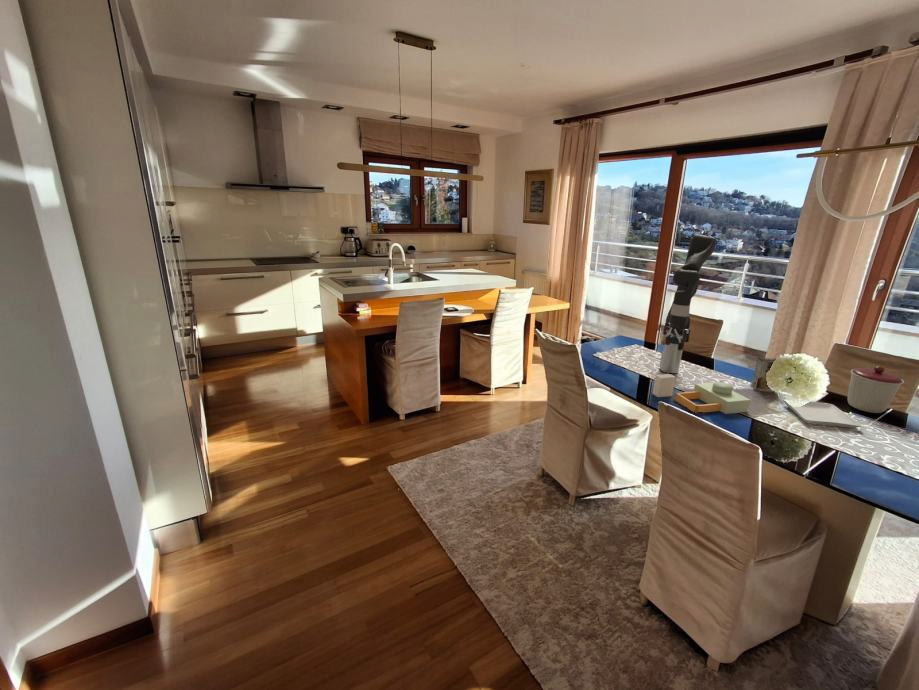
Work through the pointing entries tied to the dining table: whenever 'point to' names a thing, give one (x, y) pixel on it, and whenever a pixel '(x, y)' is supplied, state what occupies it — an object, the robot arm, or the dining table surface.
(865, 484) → the dining table surface
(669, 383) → the white block
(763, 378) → the coffee box
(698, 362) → the dining table surface
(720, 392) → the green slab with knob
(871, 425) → the dining table surface
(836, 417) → the salad plate
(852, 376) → the canister
